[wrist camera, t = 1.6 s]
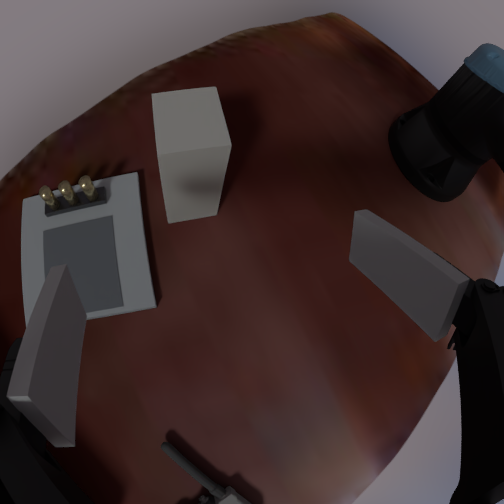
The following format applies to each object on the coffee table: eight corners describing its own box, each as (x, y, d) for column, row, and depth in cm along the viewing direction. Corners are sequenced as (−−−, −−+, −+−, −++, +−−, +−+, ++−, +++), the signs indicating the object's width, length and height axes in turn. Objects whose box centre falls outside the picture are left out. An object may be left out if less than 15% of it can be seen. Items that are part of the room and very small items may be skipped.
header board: (138, 176, 31) (137, 171, 30) (157, 307, 27) (155, 305, 26) (26, 203, 27) (22, 199, 26) (31, 328, 24) (25, 327, 23)
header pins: (106, 189, 28) (97, 170, 25) (106, 203, 28) (97, 185, 25) (47, 203, 27) (33, 187, 23) (47, 217, 26) (32, 201, 23)
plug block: (206, 166, 32) (216, 86, 21) (216, 215, 31) (231, 145, 20) (160, 172, 31) (151, 94, 20) (168, 223, 30) (157, 155, 19)
